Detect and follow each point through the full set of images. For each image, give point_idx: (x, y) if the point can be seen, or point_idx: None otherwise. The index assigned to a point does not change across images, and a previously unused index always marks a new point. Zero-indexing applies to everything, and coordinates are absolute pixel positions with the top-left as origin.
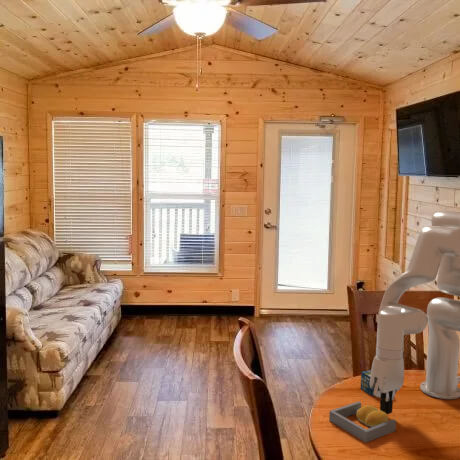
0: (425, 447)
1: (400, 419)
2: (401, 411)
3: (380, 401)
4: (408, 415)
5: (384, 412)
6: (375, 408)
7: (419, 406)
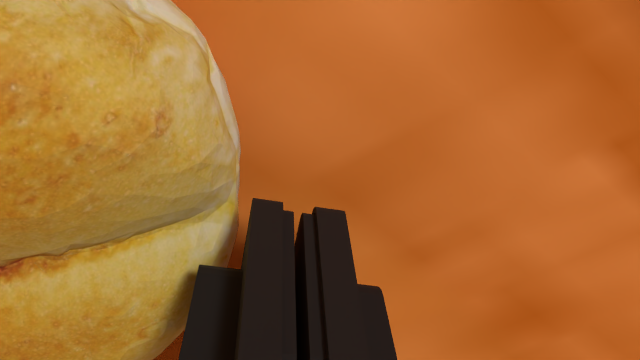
0: None
1: None
2: (588, 267)
3: (242, 296)
4: (532, 355)
5: (138, 349)
6: (76, 234)
7: None
